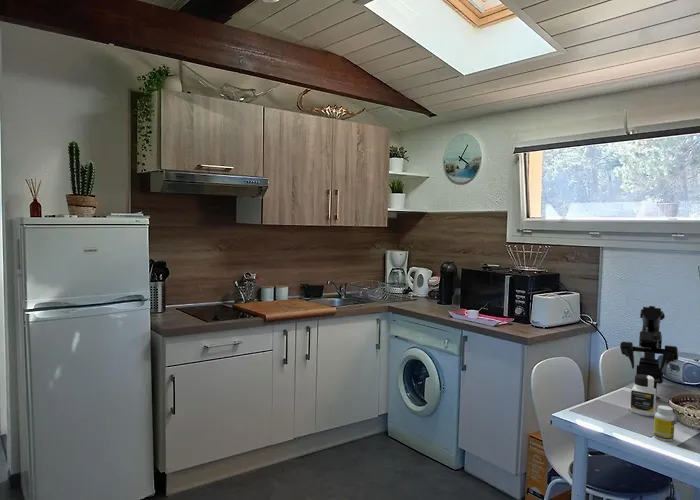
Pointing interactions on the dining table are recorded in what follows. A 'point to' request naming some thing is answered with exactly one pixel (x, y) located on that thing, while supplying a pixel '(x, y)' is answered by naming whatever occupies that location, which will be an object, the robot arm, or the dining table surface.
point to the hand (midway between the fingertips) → (646, 369)
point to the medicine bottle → (643, 393)
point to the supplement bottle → (664, 424)
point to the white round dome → (642, 412)
